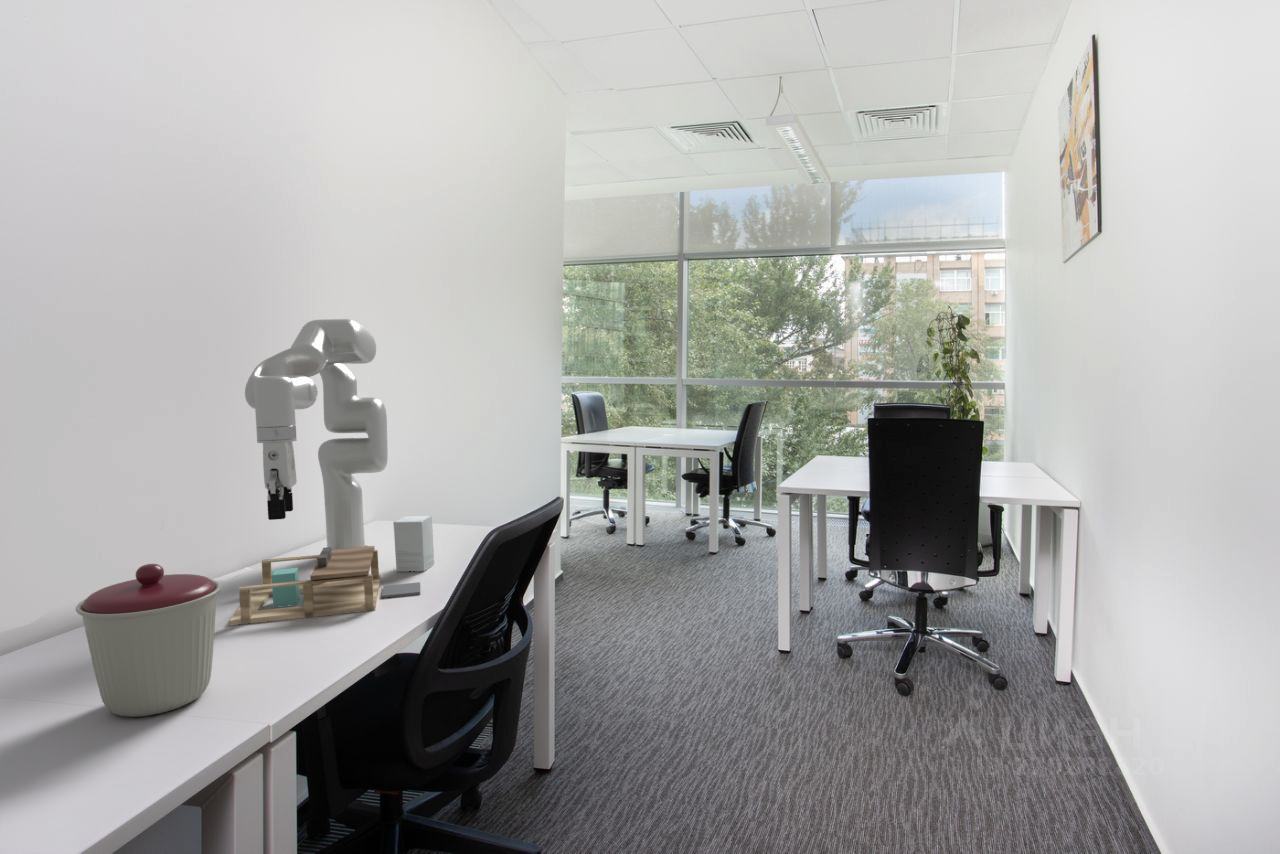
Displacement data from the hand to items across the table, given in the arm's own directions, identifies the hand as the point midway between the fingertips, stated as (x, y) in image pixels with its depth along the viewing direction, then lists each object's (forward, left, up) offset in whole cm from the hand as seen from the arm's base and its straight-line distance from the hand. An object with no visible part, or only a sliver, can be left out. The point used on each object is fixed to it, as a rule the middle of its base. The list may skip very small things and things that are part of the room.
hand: (281, 515), depth 159 cm
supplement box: (-20, +27, -19) cm, 39 cm away
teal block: (0, 0, -19) cm, 19 cm away
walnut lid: (0, +12, -12) cm, 17 cm away
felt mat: (0, +24, -19) cm, 30 cm away
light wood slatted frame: (0, +5, -19) cm, 20 cm away
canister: (+47, -10, -19) cm, 52 cm away
